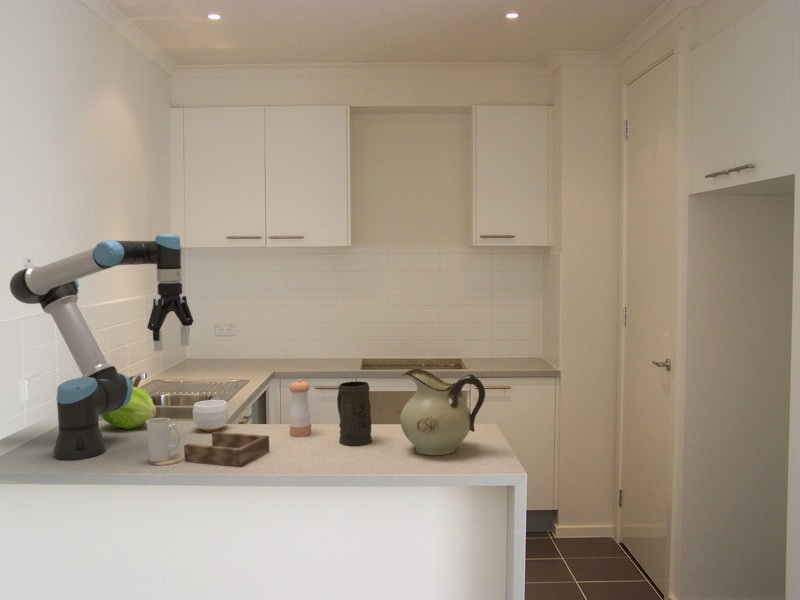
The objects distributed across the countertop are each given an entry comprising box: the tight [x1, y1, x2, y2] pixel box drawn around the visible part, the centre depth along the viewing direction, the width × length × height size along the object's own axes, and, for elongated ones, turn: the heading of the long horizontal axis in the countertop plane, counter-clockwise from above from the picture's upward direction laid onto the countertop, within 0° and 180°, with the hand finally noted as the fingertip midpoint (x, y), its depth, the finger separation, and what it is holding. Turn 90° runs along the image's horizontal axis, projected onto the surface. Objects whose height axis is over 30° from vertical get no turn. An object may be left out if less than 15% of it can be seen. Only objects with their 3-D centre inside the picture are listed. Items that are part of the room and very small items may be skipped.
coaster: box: [148, 453, 185, 466], centre depth 213 cm, size 10×10×1 cm
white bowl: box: [192, 399, 229, 433], centre depth 250 cm, size 12×12×10 cm
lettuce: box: [101, 385, 157, 430], centre depth 255 cm, size 17×20×15 cm
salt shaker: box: [288, 379, 312, 438], centre depth 241 cm, size 7×7×19 cm
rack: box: [183, 431, 270, 468], centre depth 217 cm, size 20×17×5 cm
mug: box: [145, 417, 182, 462], centre depth 212 cm, size 10×7×12 cm, turn 88°
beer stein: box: [336, 380, 373, 447], centre depth 232 cm, size 15×11×20 cm
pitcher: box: [399, 368, 486, 456], centre depth 219 cm, size 22×24×25 cm
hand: (172, 348), depth 225 cm, fingers open, 13 cm apart
